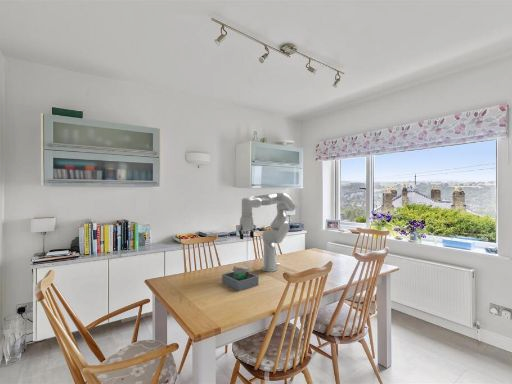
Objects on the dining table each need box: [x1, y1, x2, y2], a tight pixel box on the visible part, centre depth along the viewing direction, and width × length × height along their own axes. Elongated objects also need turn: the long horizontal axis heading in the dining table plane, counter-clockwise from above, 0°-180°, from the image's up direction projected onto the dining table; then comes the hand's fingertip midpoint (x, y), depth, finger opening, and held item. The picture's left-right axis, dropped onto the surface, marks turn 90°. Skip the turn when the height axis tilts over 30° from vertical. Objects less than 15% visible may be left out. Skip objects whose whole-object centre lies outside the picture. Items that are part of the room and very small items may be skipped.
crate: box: [221, 271, 259, 292], centre depth 184 cm, size 17×19×6 cm
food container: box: [232, 265, 250, 281], centre depth 184 cm, size 12×6×10 cm, turn 60°
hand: (246, 238), depth 199 cm, fingers open, 9 cm apart
